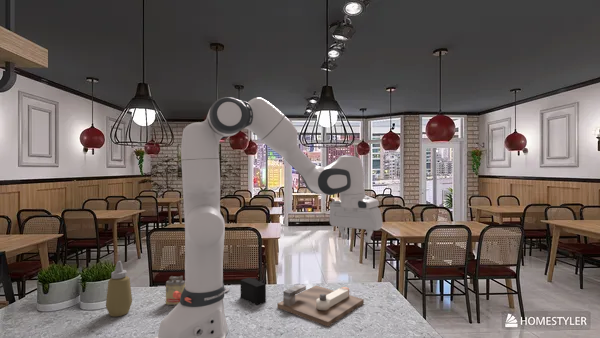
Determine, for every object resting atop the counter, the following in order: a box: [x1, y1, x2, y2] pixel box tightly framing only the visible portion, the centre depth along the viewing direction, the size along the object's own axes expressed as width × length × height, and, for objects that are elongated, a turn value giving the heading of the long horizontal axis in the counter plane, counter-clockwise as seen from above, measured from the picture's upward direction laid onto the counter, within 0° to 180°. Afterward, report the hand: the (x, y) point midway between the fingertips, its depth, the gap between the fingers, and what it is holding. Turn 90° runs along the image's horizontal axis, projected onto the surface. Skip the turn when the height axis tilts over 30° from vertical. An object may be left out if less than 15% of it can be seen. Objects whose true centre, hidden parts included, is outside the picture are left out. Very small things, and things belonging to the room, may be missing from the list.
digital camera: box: [239, 277, 267, 306], centre depth 126 cm, size 10×5×7 cm, turn 45°
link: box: [316, 286, 350, 311], centre depth 120 cm, size 18×5×2 cm, turn 140°
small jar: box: [165, 275, 185, 306], centre depth 123 cm, size 7×4×10 cm, turn 89°
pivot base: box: [276, 283, 365, 327], centre depth 121 cm, size 23×22×6 cm
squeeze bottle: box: [105, 260, 133, 318], centre depth 114 cm, size 8×8×18 cm
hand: (356, 240), depth 117 cm, fingers open, 8 cm apart
